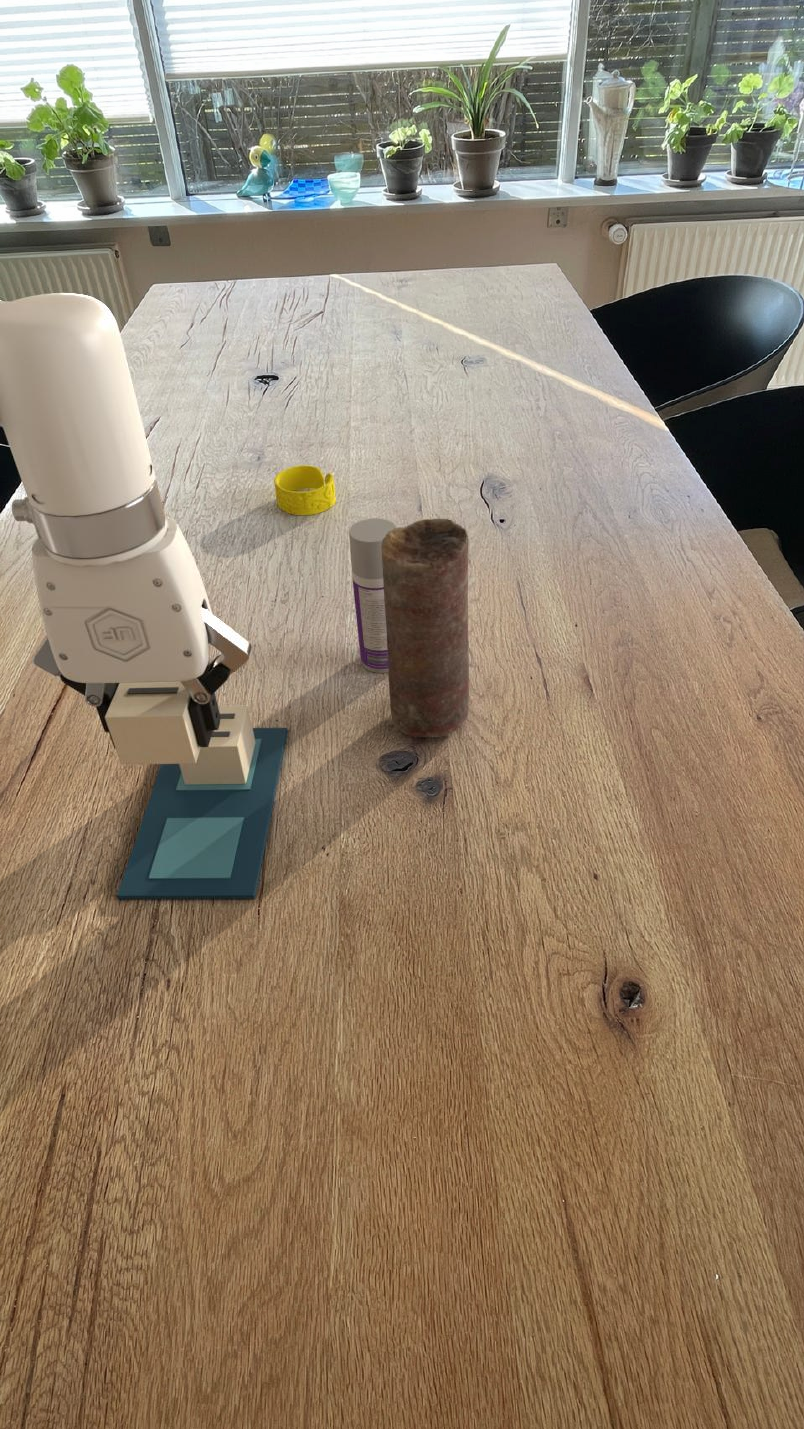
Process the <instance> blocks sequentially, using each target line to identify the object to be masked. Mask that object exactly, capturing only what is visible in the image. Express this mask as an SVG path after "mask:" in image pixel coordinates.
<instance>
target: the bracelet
mask: <svg viewBox="0 0 804 1429" xmlns="http://www.w3.org/2000/svg"><path fill="white" fill-rule="evenodd" d="M273 483H274V490H275V492H274V493H275V498H276V500H277V507H279V508H278V509H280V510H282V511H283V512H285V513H287V514H291V515H295V516H311V515H316V514H317V515H318V514H320V513H323V512H326V511H328V510H329V509H331V508H332V507H333V506H334V505H335V504H336V502H337V498H336V485H335V484H336V483H335V480H334V474H333V473H331V472H328V473H326V474H325V476H324V474H323V472H322V470H321V468H319V467H318V466H315V465H310V464H309V465H308V464H300V465H294V466H291V467H288V468H286V469H283V470H281V471H279V472H278V473H277V474H276V475H275V476H274V479H273ZM306 489H307V490H306ZM308 489H311V490H308ZM299 490H303V491H299ZM305 490H306V491H305Z"/></svg>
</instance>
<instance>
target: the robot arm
mask: <svg viewBox="0 0 804 1429" xmlns="http://www.w3.org/2000/svg"><path fill="white" fill-rule="evenodd" d="M0 427H1V428H2V429H3V431H4V435H5V437H6V441H7V443H8V445H9V448H10V451H11V455H12V456H13V460H14V462H15V466H16V468H17V471H18V474H19V477H20V480H21V483H22V486H23V488H24V491H25V494H26V497H24V498H20V499H19V498H18V499H17V498H16V499H14V500H13V501H12V503H11V514H12V516H13V517H12V518H13V519H14V520H15V521H16V522H27V523H28V524H33V526H34V529H35V532H36V534H37V539H36V540H35V541H34V542H33V543H32V546H31V557H32V568H33V576H34V581H35V582H34V583H35V588H36V593H37V598H38V603H39V608H40V613H41V617H42V621H43V625H44V628H45V632H46V636H45V638H44V639H43V641H42V642H41V644H40V645H39V647H38V648H37V650H36V651H35V654H34V656H33V657H32V663H33V664H34V665H35V666H36V667H38V668H39V669H41V670H43V671H44V672H47V673H48V674H51V675H53V676H54V677H59V679H60V680H61V682H62V683H63V684H64V685H66V686H67V687H70V688H71V689H73V690H74V691H76V692H78V693H80V694H81V695H83V696H84V700H85V702H86V704H88V705H89V706H91V707H94V708H96V712H97V714H98V717H99V720H100V723H101V726H102V728H103V731H104V732H105V733H108V734H109V738H110V740H111V744H112V747H113V748H114V749H115V750H116V748H115V745H114V742H113V740H112V737H111V734H110V731H109V728H108V725H107V722H106V719H105V716H106V713H107V711H108V709H109V706H110V704H111V702H112V699H113V697H114V695H115V692H116V690H117V688H118V685H119V683H142V682H175V681H180V682H181V683H182V685H183V686H184V687H185V689H186V690H187V692H188V693H189V695H190V696H191V699H190V702H189V705H188V710H189V714H190V717H191V721H192V725H193V728H194V732H195V736H196V740H197V743H198V745H200V747H208V746H209V743H210V739H211V736H212V732H213V730H218V728H219V725H220V712H219V708H218V706H219V704H218V700H217V696H216V692H217V691H218V690H219V689H220V688H221V687H222V686H223V685H224V684H225V683H226V682H227V681H228V680H229V677H230V676H231V675H232V674H233V673H236V671H238V670H239V669H240V668H241V667H242V666H243V665H244V664H246V663H247V662H248V661H249V659H250V656H251V652H252V647H253V646H252V644H251V642H250V641H248V640H247V639H246V638H244V637H243V636H242V635H241V634H239V633H237V632H236V630H234V629H232V628H231V627H230V626H228V625H227V624H226V623H224V621H222V620H220V619H219V618H218V617H216V616H215V615H214V614H213V611H212V608H211V604H210V600H209V597H208V594H207V590H206V588H205V584H204V582H203V579H202V576H201V574H200V570H199V568H198V565H197V562H196V560H195V557H194V555H193V553H192V550H191V548H190V546H189V544H188V542H187V539H186V538H185V536H184V534H183V532H182V530H181V528H180V526H179V524H178V523H177V520H176V519H175V518H174V517H171V516H166V514H165V509H164V505H163V501H162V497H161V494H160V488H159V485H158V481H157V477H156V473H155V470H154V465H153V460H152V456H151V453H150V449H149V445H148V440H147V437H146V432H145V428H144V423H143V420H142V416H141V411H140V407H139V404H138V400H137V396H136V391H135V388H134V384H133V379H132V375H131V371H130V367H129V364H128V359H127V355H126V351H125V347H124V344H123V340H122V336H121V332H120V329H119V326H118V322H117V320H116V318H115V316H114V315H113V313H112V312H111V310H110V309H109V308H108V307H107V305H106V304H104V303H103V302H102V301H100V300H99V299H96V298H94V297H92V296H89V295H85V294H80V293H73V292H72V293H71V292H56V293H55V292H52V293H43V294H37V295H31V296H26V297H21V298H18V299H14V300H12V301H7V300H6V301H5V300H4V301H3V300H2V301H1V300H0ZM209 644H210V645H211V646H212V647H214V648H215V649H216V650H218V651H219V652H220V653H221V654H218V655H217V656H216V657H215V658H214V659H213V660H212V661H211V662H210V660H209V658H210V656H209V654H210V652H209V650H210V649H209Z"/></svg>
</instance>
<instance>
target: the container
mask: <svg viewBox="0 0 804 1429" xmlns="http://www.w3.org/2000/svg"><path fill="white" fill-rule="evenodd" d="M394 528H397V526H396V524H395V523H394V522H392V521H391V520H388V519H385V518H379V517H377V518H375V517H374V518H373V517H372V518H366V519H362V520H359V521H357V522H355V523H353V524H352V525H351V526H350V527H349V530H348V538H349V550H350V564H351V578H352V579H351V580H352V589H353V598H354V607H355V618H356V627H357V637H358V646H359V654H360V656H359V657H360V663H361V665H362V667H363V668H365V669H366V670H367V671H369V672H372V673H377V674H378V673H379V674H387V673H389V671H388V652H387V629H386V616H385V603H384V584H383V567H382V552H381V546H382V541H383V538H384V537H385V536H386V534H387V533H388V532H389V531H391V530H393V529H394Z"/></svg>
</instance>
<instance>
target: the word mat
mask: <svg viewBox="0 0 804 1429" xmlns="http://www.w3.org/2000/svg"><path fill="white" fill-rule="evenodd" d="M252 728H253V733H254V738H255V747H254V751H253V755H252V759H251V764H250V768H249V772H248V777H247V781H246V784H190V785H185V783H184V779H183V776H182V772H181V769H180V765H179V764H160V766H159V769H158V772H157V774H156V778H155V781H154V784H153V786H152V789H151V792H150V795H149V799H148V801H147V804H146V808H145V811H144V814H143V817H142V818H141V823H140V825H139V828H138V831H137V834H136V837H135V840H134V843H133V846H132V849H131V852H130V855H129V858H128V860H127V864H126V866H125V869H124V873H123V876H122V879H121V882H120V884H119V888H118V889H117V890H118V891H117V894H116V898H117V900H118V901H128V900H129V901H131V900H132V901H133V900H136V901H137V900H138V901H139V900H144V901H147V900H150V901H152V900H155V901H156V900H255V899H256V895H257V890H258V884H259V880H260V875H261V869H262V864H263V859H264V855H265V848H266V843H267V838H268V833H269V828H270V825H271V824H270V823H271V819H272V814H273V812H272V811H273V808H274V803H275V798H276V792H277V788H278V783H279V778H280V773H281V772H280V771H281V767H282V762H283V757H284V752H285V747H286V742H287V737H288V727H252Z"/></svg>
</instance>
